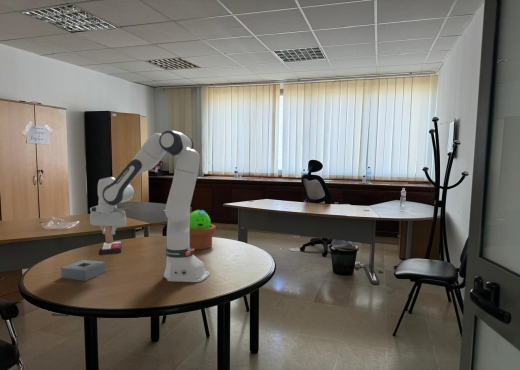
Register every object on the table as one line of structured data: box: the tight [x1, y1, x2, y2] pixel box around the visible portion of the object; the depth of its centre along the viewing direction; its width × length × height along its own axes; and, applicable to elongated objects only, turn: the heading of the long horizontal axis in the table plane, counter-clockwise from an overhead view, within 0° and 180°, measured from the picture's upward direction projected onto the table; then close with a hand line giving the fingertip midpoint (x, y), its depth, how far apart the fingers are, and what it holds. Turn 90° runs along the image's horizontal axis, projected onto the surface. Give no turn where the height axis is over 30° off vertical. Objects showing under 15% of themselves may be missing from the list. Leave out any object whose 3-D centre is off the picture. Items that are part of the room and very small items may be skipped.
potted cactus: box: [189, 209, 216, 250], centre depth 226 cm, size 22×22×25 cm
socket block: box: [60, 259, 107, 282], centre depth 170 cm, size 14×14×5 cm
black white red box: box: [101, 241, 123, 255], centre depth 214 cm, size 11×4×15 cm
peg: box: [104, 225, 114, 244], centre depth 179 cm, size 4×4×12 cm
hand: (109, 234), depth 179 cm, fingers closed on peg, 3 cm apart
